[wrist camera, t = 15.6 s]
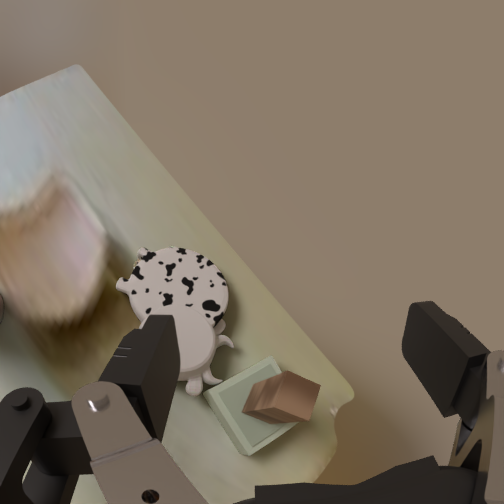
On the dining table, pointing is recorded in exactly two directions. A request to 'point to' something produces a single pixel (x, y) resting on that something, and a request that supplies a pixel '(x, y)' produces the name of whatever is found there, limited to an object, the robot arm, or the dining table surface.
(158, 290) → the toy
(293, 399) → the block
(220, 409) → the stand
